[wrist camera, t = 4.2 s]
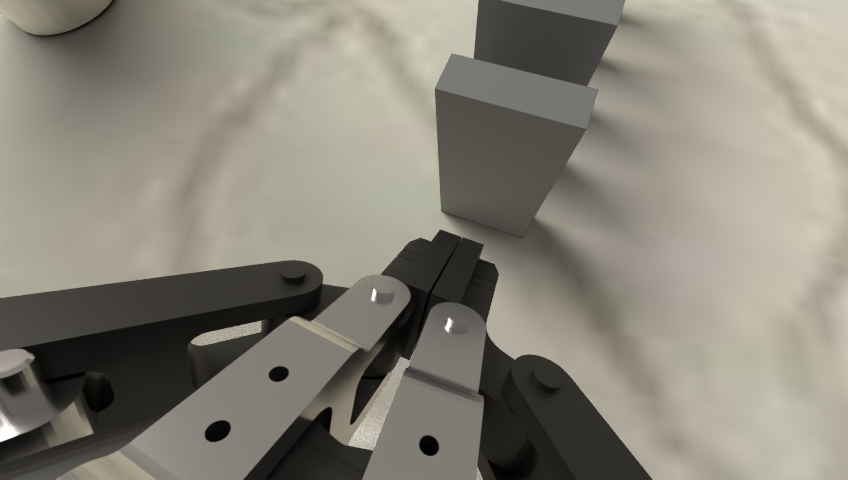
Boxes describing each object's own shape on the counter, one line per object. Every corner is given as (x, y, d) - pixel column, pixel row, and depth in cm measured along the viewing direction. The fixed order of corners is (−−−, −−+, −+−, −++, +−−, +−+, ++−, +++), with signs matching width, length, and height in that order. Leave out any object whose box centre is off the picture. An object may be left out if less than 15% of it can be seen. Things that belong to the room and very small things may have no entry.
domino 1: (466, 150, 22) (478, -4, 13) (474, 130, 23) (492, -33, 13) (542, 173, 21) (617, 25, 12) (549, 152, 22) (627, -7, 12)
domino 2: (441, 210, 21) (434, 88, 12) (450, 188, 21) (451, 53, 12) (521, 237, 20) (586, 129, 11) (529, 214, 20) (598, 89, 11)
